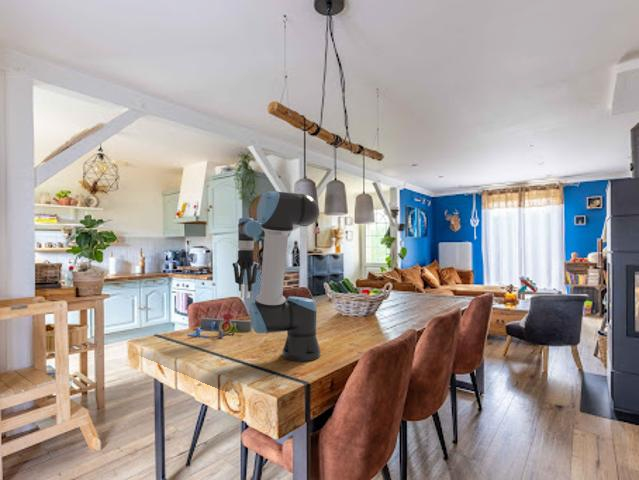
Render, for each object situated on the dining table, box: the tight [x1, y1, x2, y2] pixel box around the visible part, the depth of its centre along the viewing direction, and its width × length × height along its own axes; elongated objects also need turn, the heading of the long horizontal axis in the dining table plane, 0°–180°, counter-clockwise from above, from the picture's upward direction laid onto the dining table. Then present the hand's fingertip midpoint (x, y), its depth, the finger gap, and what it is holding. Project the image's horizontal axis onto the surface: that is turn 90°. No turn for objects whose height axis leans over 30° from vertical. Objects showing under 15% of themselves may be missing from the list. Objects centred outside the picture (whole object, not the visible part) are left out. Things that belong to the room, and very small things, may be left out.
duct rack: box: [187, 317, 253, 340], centre depth 175 cm, size 18×28×5 cm, turn 77°
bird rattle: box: [219, 312, 239, 337], centre depth 172 cm, size 6×11×9 cm
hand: (245, 297), depth 170 cm, fingers open, 2 cm apart
